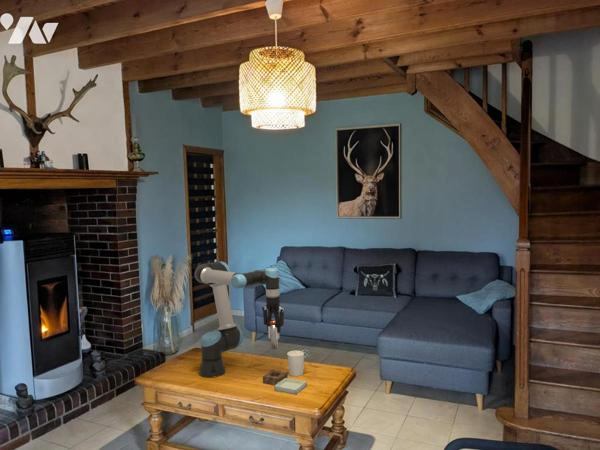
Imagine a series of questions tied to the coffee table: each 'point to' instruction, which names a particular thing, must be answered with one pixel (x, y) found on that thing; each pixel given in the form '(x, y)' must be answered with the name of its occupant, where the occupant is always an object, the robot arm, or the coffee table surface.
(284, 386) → the tray
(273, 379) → the socket block
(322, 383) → the coffee table surface
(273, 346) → the pin
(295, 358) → the candle holder
